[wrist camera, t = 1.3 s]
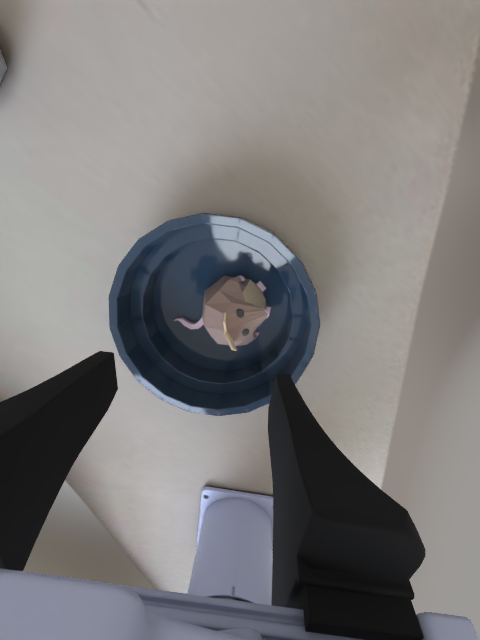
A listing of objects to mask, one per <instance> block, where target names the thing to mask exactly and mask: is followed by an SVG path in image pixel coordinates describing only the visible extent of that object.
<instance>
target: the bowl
mask: <svg viewBox="0 0 480 640" xmlns="http://www.w3.org/2000/svg"><path fill="white" fill-rule="evenodd" d="M223 276H230V277H236V276H243V277H244V278H245V279H250V280H252V281H253V282H254V283H258V282H259V281H261V282H262V283H263V285H264V286H265V287H266V289H265V290H264V291H263V294H264V297H265V299H266V306H270V307H271V309H270V314H269V316H268V318H266V319H265V320H264V321H263V322H262V324H261V325H260V326H259V327H258V328H257V330H256V333H258V332H259V335H258V336H257V337H256V339H254V340H253V341H251V342H250V343H249V344H247V345H241V346H235V347H236V349H237V350H236V351H234V350H231V348H230V346H229V345H223V344H217V342H216V341H215V340H214V339H213V338H212V337H211V336H210V334H209V333H208V331H207V329H206V328H205V326H204V325H202V326H201V327H200V328H199V329H189V328H188V327H186V326H184V325H183V324H182V323H181V322H180V321H178V320H177V321H173V320H175V319H176V318H185V319H187V320H188V321H190V322H193V323H194V322H198V321H199V320H200V319H201V318H202V313H203V302H204V291H205V290H206V289H208V288H209V287H210V286H212V285H213V284H214V283H216V282H217V281H218V280H219V279H221V278H222V277H223ZM109 322H110V330H111V333H112V336H113V339H114V341H115V344H116V347H117V350H118V353H119V356H120V357H121V359H122V360H123V362H124V363H125V364H126V366H127V367H128V368H129V370H130V371H131V373H132V374H133V375H134V377H135V378H136V379H137V381H138V382H139V383H141V384H142V385H143V386H145V387H146V388H147V389H148V390H150V391H151V392H152V393H153V394H155V395H156V396H157V397H158V398H160V399H162V400H163V401H165V402H167V403H170V404H172V405H174V406H177V407H179V408H181V409H184V410H186V411H189V412H194V413H201V414H207V415H214V416H223V415H231V414H239V413H247V412H250V411H252V410H255V409H257V408H259V407H262V406H264V405H266V404H269V403H270V399H271V394H272V389H273V384H274V380H275V375H276V374H282V375H290V377H291V378H292V380H293V382H294V384H295V383H296V382H297V381H298V380H299V378H300V377H301V375H302V373H303V372H304V370H305V368H306V367H307V365H308V364H309V362H310V360H311V359H312V357H313V355H314V350H315V346H316V341H317V337H318V332H319V327H320V319H319V311H318V303H317V295H316V290H315V288H314V286H313V284H312V282H311V280H310V278H309V276H308V274H307V272H306V270H305V268H304V266H303V264H302V262H301V260H300V259H299V258H298V257H297V256H296V255H295V254H294V253H293V252H292V251H291V250H290V249H289V248H288V247H287V246H286V245H285V244H284V243H283V242H282V241H281V240H280V239H279V238H278V237H277V236H276V235H275V234H274V233H273V232H271V231H269V230H267V229H265V228H263V227H261V226H259V225H257V224H255V223H253V222H251V221H249V220H247V219H244V218H240V217H232V216H224V215H216V214H208V213H201V214H196V215H192V216H187V217H183V218H178V219H174V220H169V221H167V222H165V223H163V224H162V225H160V226H159V227H157V228H156V229H154V230H152V231H151V232H149V233H148V234H146V235H145V236H143V237H141V238H140V239H139V240H138V241H137V242H136V243H135V244H134V246H133V247H132V248H131V250H130V251H129V252H128V254H127V255H126V256H125V258H124V259H123V260H122V262H121V263H120V264H119V266H118V268H117V272H116V275H115V278H114V281H113V284H112V288H111V291H110V294H109Z"/></svg>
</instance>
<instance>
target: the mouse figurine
mask: <svg viewBox="0 0 480 640" xmlns="http://www.w3.org/2000/svg"><path fill="white" fill-rule="evenodd" d="M265 289H266V287H265V286H264V285H263V283H262V282H261V281H259V282H258V283H254V282H253V281H252V280H250V279H245V278H244V277H243V276H236V277H230V276H223V277H222V278H221V279H219V280H218V281H217V282H216V283H214V284H213V285H212V286H210V287H209V288H208V289H206V290H205V291H204V302H203V313H202V318H201V319H200V320H199V321H198V322H194V323H193V322H190V321H188V320H187V319H185V318H176V319H175V320H173V321H177V320H178V321H180V322H181V323H182V324H183V325H184V326H186V327H188V328H189V329H199V328H200V327H201V326H202V325H204V326H205V328H206V329H207V331H208V333H209V334H210V336H211V337H212V338H213V339H214V340H215V341H216V342H217V344H223V345H229V346H230V348H231V350H234V351H236V350H237V349H236V347H235V346H241V345H247V344H249V343H250V342H251V341H253V340H254V339H256V337H257V336H258V335H259V332H258V333H256V330H257V328H258V327H259V326H260V325H261V324H262V322H263V321H264V320H265V319H266V318H268V316H269V314H270V309H271V307H270V306H266V299H265V297H264V294H263V291H264V290H265Z"/></svg>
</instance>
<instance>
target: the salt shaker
mask: <svg viewBox="0 0 480 640" xmlns="http://www.w3.org/2000/svg"><path fill="white" fill-rule="evenodd" d="M6 70H7V66H6V63H5V60H4V57H3V55H2V52H1V49H0V84H1V82H2V79H3V77H4V75H5V72H6Z"/></svg>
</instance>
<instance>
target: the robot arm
mask: <svg viewBox="0 0 480 640" xmlns="http://www.w3.org/2000/svg"><path fill="white" fill-rule="evenodd" d="M117 389H118V387H117V378H116V369H115V360H114V353H111V352H103V351H99V352H97V353H95V354H94V355H92V356H90V357H88V358H86V359H85V360H83V361H81V362H79V363H78V364H76V365H74V366H72V367H71V368H69V369H67V370H65V371H63V372H62V373H60V374H58V375H56V376H54V377H52V378H50V379H49V380H47V381H45V382H43V383H41V384H39V385H37V386H35V387H33V388H31V389H29V390H27V391H25V392H22V393H20V394H18V395H16V396H13V397H11V398H9V399H6V400H4V401H2V402H0V640H480V639H479V637H478V635H477V633H476V631H475V629H474V626H473V624H472V622H471V620H469V619H468V618H467V617H461V616H454V615H447V614H439V613H432V612H424V613H419V614H417V615H416V614H415V611H414V608H413V605H412V602H411V600H413V599H414V592H413V589H412V587H411V584H410V581H409V579H410V578H411V577H412V575H413V574H414V573H415V572H416V570H417V569H418V568H419V567H420V565H421V564H422V562H423V560H424V558H425V548H424V545H423V543H422V541H421V538H420V536H419V533H418V531H417V529H416V527H415V525H414V523H413V522H412V519H411V517H410V515H409V513H408V511H407V510H406V509H405V508H403V507H402V506H400V504H398V503H397V502H395V501H394V500H393V499H392V498H391V497H389V496H388V495H387V494H386V493H384V492H383V491H382V490H381V489H379V488H378V487H377V486H376V485H375V484H374V483H373V482H371V481H370V480H369V479H368V478H367V477H366V476H365V475H364V474H363V473H362V472H360V471H359V470H358V469H357V468H356V467H355V466H354V465H353V464H352V463H351V462H350V461H349V460H348V459H347V457H346V456H345V455H344V454H343V453H342V452H341V451H340V450H339V449H338V448H337V447H336V445H335V444H334V443H333V442H332V441H331V439H330V438H329V437H328V436H327V434H326V433H325V432H324V430H323V429H322V428H321V426H320V425H319V424H318V422H317V421H316V419H315V418H314V416H313V415H312V413H311V412H310V410H309V409H308V407H307V405H306V404H305V402H304V400H303V399H302V397H301V395H300V393H299V392H298V390H297V388H296V386H295V384H294V382H293V380H292V378H291V377H290V375H282V374H276V375H275V380H274V384H273V389H272V394H271V399H270V404H269V412H268V435H269V446H270V457H271V467H272V478H273V497H272V496H265V495H259V494H252V493H246V492H239V491H233V490H226V489H220V488H213V487H204V488H203V489H202V494H201V504H200V515H199V525H198V535H197V545H196V554H195V559H194V564H193V569H192V574H191V579H190V584H189V589H188V594H184V593H177V592H169V591H162V590H154V589H147V588H139V587H132V586H125V585H117V584H110V583H106V582H99V581H92V580H84V579H76V578H69V577H62V576H55V575H47V574H40V573H33V572H25V571H23V569H24V567H25V565H26V562H27V560H28V558H29V556H30V553H31V550H32V548H33V546H34V544H35V541H36V539H37V537H38V535H39V533H40V530H41V528H42V526H43V524H44V522H45V520H46V517H47V515H48V513H49V511H50V509H51V507H52V505H53V503H54V501H55V499H56V496H57V495H58V492H59V490H60V488H61V486H62V484H63V482H64V481H65V479H66V477H67V475H68V473H69V471H70V469H71V467H72V465H73V463H74V462H75V460H76V458H77V457H78V455H79V453H80V452H81V450H82V449H83V447H84V446H85V444H86V443H87V441H88V440H89V438H90V437H91V435H92V433H93V432H94V430H95V429H96V427H97V426H98V424H99V423H100V421H101V420H102V418H103V416H104V415H105V413H106V412H107V410H108V408H109V406H110V404H111V402H112V400H113V398H114V396H115V394H116V392H117ZM272 539H273V563H272Z"/></svg>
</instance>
